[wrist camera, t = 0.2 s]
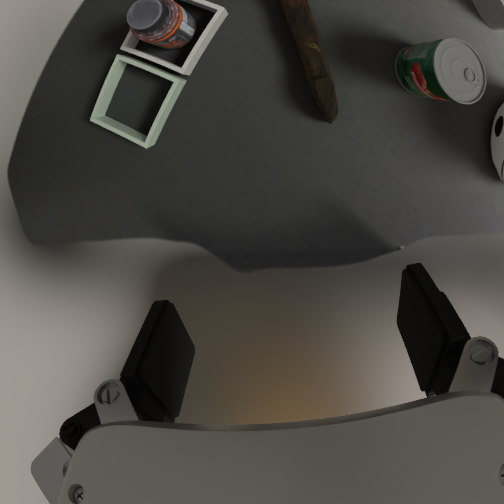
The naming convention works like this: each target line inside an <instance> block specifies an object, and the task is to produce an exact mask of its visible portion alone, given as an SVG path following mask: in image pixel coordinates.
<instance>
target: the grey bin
mask: <svg viewBox="0 0 504 504" xmlns="http://www.w3.org/2000/svg"><path fill="white" fill-rule="evenodd" d="M180 1H183V2H186V3H189V4H192V5H195V6H198V7H201V8H203V9H206V10H209V11H211V12H214V13H215V15H214V16H213V18H212V19H211V21H210V22H209V24H208V25H207V27H206V28H205V30H204V32H203V33H202V35H201V36H200V38H199V39H198V41H197V43H196V44H195V46H194V48H193V49H192V51H191V53H190V54H189V56H188V58H187V59H186V61H185V63H184V65H183V66H182V67H180V66H178V65H175V64H173V63H171V62H168V61H166V60H163V59H161V58H158V57H156V56H153V55H151V54H148V53H146V52H143V51H140V50H137V49H135V47H136V45H137V44H138V42H139V39H138V38H136V37H135V36H134V35H133V34H132V32H131V30H130V31H129V33H128V35H127V36H126V38H125V40H124V42H123V44H122V46H121V48H120V49H121V50H124V51H127V52H129V53H132V54H135V55H137V56H140V57H143V58H145V59H148V60H150V61H153V62H155V63H158V64H160V65H163V66H165V67H168V68H170V69H172V70H175V71H177V72H179V73H181V74H184V75H190V74H191V72H192V70H193V69H194V67H195V65H196V63H197V62H198V60H199V58H200V57H201V55H202V53H203V52H204V50H205V49H206V47H207V45H208V44H209V42H210V41H211V39H212V37H213V36H214V34H215V33H216V31H217V30H218V28H219V27H220V25H221V24H222V22H223V21H224V19H225V18H226V16H227V15H228V13H227V11H226V9H225V8H223V7H221V6H218V5H216V4H213V3H210V2H208V1H205V0H180Z"/></svg>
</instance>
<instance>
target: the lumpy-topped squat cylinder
mask: <svg viewBox="0 0 504 504" xmlns="http://www.w3.org/2000/svg"><path fill="white" fill-rule="evenodd" d="M472 2H473V4H474V6H475V8H476V9H477V11H478V13H479V15H480V17H481V18H482V20H483V21H484V22H485V23H486V25H487V26H488V27H490V28H491V29H493V30H502V29H504V0H472Z"/></svg>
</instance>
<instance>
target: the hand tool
mask: <svg viewBox="0 0 504 504" xmlns="http://www.w3.org/2000/svg"><path fill="white" fill-rule="evenodd" d="M278 1H280V2H281V9H282V10H284V12H285V16H286V19H287V22H288V24H289V29H290V32H291V33H292V35H293V37H294V40H295V42H296V45H297V48H298V51H299V54H300V56H301V59H302V63H303V66H304V69H305V72H306V75H307V78H308V82H309V86H310V89H311V92H312V95H313V97H314V100H315V101H316V103H317V106H318V108H319V109H320V110H321V112H322V114H323V116H324V118H325V119H326V121H327V122H328V123H329V124H331V123H332V122H333V121H334V120H335V119H336V116H337V113H338V105H337V98H336V95H335V86H334V82H333V79H332V78H331V75H330V71H329V68H328V65H327V62H326V57H325V54H324V50H323V46H322V43H321V40H320V37H319V33H318V30H317V27H316V24H315V21H314V18H313V15H312V13H311V10H310V7H309V5H308V2H307V0H278Z"/></svg>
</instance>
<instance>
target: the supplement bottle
mask: <svg viewBox="0 0 504 504" xmlns="http://www.w3.org/2000/svg"><path fill="white" fill-rule="evenodd" d="M127 23H128V24H129V26H130V30H131V32H132V34H133V35H134V36H135V37H136V38H138V39H139V40H142V41H144V42H147V43H150V44H154V45H156V46H159V47H162V48H165V49H178V48H181V47H183V46H185V45H186V44H188V43H189V42H190V41H191V40H192V39H193V37H194V35H195V33H196V22H195V20H194V18H193V17H192V16H191V15H190V14H189V13H188V12H187V11H185V10H184V9H183V8H182V7H181V6H180V5H179V4H177V3H176V2H175V1H174V0H137V1H136V2H135V3H134V4H133V5H132V6H131V7H130V8H129V10H128V12H127Z"/></svg>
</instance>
